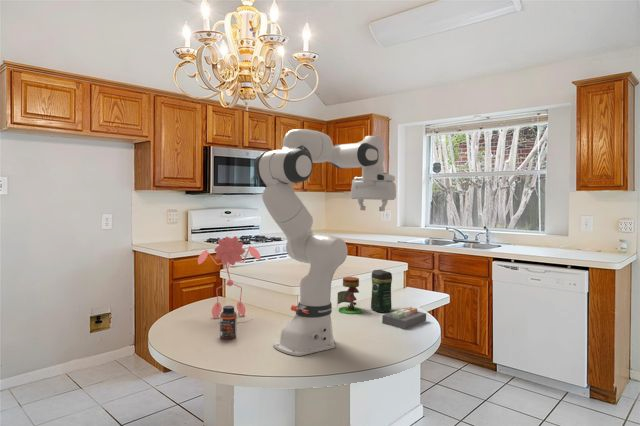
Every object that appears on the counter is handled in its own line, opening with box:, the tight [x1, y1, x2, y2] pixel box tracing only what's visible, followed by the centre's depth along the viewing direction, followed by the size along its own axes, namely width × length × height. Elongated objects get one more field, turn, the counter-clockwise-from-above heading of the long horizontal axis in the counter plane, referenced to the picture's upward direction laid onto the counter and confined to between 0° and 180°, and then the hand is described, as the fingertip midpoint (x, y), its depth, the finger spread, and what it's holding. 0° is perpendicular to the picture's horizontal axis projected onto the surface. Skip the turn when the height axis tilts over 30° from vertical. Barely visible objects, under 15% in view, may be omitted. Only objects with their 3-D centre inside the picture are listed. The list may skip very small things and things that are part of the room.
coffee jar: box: [370, 269, 393, 313], centre depth 197 cm, size 10×8×19 cm
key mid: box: [398, 308, 411, 316], centre depth 179 cm, size 4×4×3 cm
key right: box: [405, 306, 418, 314], centre depth 183 cm, size 4×4×3 cm
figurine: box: [197, 235, 261, 325], centre depth 179 cm, size 15×26×35 cm, turn 105°
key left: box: [391, 310, 404, 319], centre depth 176 cm, size 4×4×3 cm
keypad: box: [381, 307, 427, 330], centre depth 179 cm, size 16×11×3 cm
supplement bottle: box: [219, 305, 238, 340], centre depth 158 cm, size 6×6×11 cm
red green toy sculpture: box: [336, 276, 363, 315], centre depth 196 cm, size 12×13×15 cm
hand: (372, 210), depth 174 cm, fingers open, 8 cm apart
